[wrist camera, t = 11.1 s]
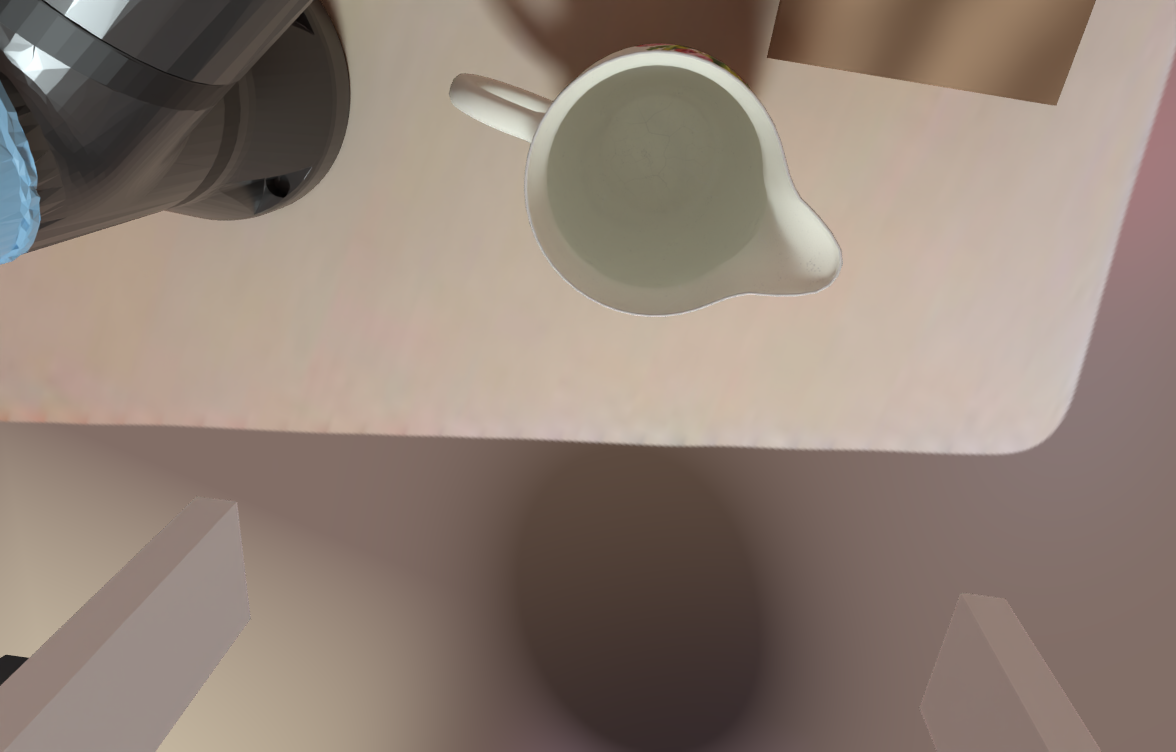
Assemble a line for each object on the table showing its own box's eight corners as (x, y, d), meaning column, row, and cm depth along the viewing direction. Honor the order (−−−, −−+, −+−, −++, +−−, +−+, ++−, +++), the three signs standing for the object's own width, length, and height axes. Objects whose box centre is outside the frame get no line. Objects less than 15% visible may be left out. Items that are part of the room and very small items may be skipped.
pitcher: (524, -25, 39) (457, -66, 26) (836, 117, 40) (914, 142, 28) (458, 174, 43) (373, 221, 31) (742, 297, 45) (772, 391, 32)
